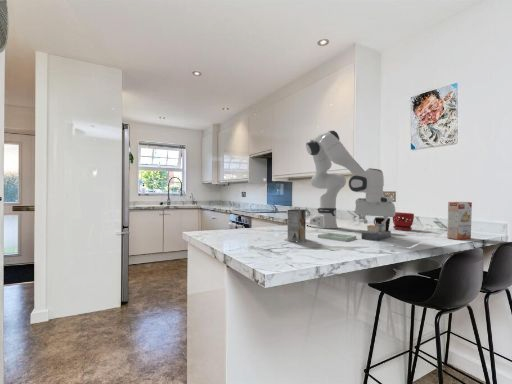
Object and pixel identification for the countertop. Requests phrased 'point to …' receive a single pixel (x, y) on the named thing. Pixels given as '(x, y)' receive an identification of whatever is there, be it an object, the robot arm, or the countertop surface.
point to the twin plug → (381, 227)
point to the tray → (337, 236)
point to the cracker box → (459, 220)
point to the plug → (373, 229)
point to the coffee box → (296, 224)
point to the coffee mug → (381, 219)
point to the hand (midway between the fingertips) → (374, 224)
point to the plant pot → (403, 221)
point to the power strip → (376, 235)
